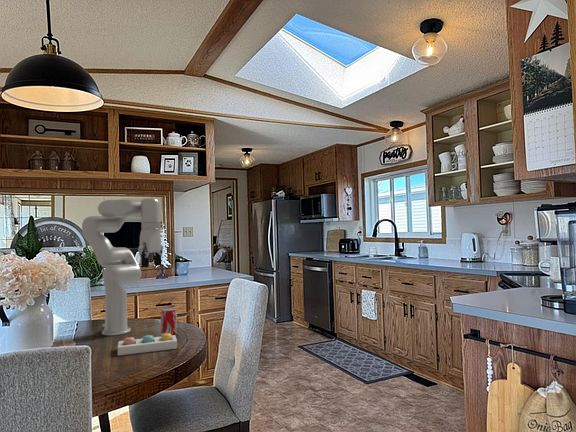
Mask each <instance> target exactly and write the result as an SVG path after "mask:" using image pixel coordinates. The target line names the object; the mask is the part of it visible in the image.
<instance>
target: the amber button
mask: <svg viewBox="0 0 576 432" xmlns="http://www.w3.org/2000/svg"><path fill="white" fill-rule="evenodd" d="M160 337H161V341H166V340H171V334H170V333H165V334H161V333H160Z"/></svg>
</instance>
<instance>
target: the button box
mask: <svg viewBox="0 0 576 432" xmlns="http://www.w3.org/2000/svg"><path fill="white" fill-rule="evenodd" d="M176 349H178V339H177V336H176V335H171V340H166V341H161V336H153V342H148V343H143V338H136V339H135V344H130V345H124V340H119V341H118V344H117V356H126V355H133V354H142V353H143V354H144V353H151V352H159V351H167V350H168V351H169V350H176Z"/></svg>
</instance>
